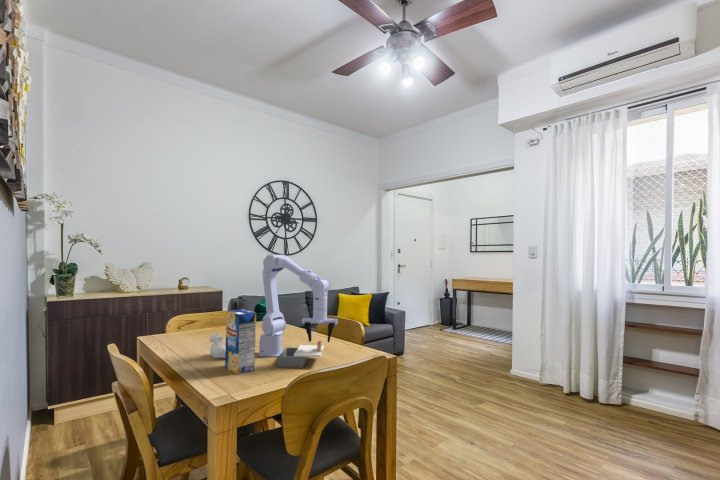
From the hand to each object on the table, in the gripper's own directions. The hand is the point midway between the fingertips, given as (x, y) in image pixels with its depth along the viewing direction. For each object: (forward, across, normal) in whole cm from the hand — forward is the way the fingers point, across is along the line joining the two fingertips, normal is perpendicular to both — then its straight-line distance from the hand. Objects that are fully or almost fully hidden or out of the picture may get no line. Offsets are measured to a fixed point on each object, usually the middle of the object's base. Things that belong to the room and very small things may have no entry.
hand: (319, 341), depth 149 cm
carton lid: (+4, -4, 0) cm, 6 cm away
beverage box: (+9, -29, -10) cm, 32 cm away
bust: (+9, -43, +4) cm, 45 cm away
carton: (+9, -10, 0) cm, 13 cm away
